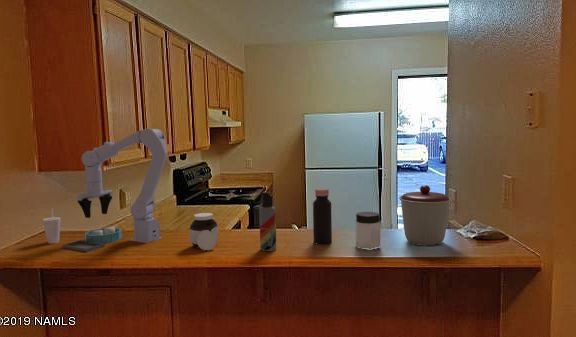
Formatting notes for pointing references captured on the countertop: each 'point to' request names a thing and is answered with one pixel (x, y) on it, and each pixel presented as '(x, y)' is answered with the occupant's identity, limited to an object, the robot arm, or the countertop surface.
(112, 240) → the bowl
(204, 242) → the spread jar
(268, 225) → the lotion bottle
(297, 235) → the countertop surface
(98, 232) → the white pebble
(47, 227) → the smoothie
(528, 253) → the countertop surface
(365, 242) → the jar
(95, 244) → the parts tray
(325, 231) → the vinegar
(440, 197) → the canister
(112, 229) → the pale stone
